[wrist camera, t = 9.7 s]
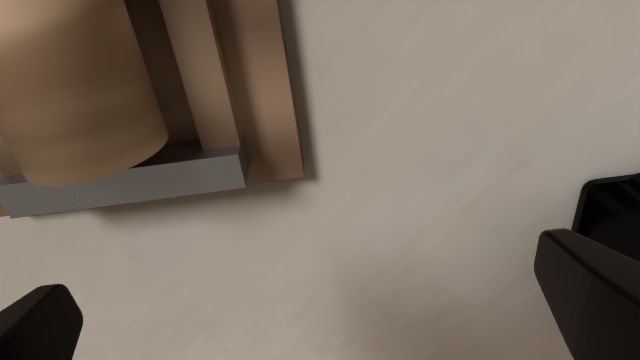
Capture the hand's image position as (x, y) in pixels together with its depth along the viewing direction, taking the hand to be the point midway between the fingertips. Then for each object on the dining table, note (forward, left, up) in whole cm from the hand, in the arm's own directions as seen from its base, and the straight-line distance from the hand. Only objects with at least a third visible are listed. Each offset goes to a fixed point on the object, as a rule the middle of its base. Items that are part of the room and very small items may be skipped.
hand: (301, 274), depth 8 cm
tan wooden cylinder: (+4, +7, -10) cm, 13 cm away
